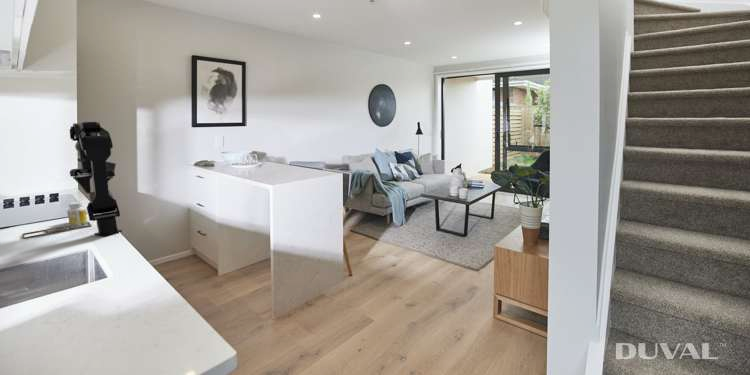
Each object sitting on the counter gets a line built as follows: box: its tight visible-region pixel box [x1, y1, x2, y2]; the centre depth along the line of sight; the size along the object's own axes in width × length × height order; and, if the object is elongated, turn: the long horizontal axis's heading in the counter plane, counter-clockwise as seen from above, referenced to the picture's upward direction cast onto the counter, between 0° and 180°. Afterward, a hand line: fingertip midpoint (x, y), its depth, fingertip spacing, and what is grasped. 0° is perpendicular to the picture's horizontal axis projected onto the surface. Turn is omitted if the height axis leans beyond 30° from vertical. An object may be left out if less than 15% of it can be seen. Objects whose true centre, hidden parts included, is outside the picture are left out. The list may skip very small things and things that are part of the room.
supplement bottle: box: [67, 201, 88, 228], centre depth 147 cm, size 5×5×10 cm
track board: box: [22, 221, 93, 240], centre depth 143 cm, size 20×7×1 cm, turn 135°
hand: (96, 194), depth 146 cm, fingers open, 9 cm apart
